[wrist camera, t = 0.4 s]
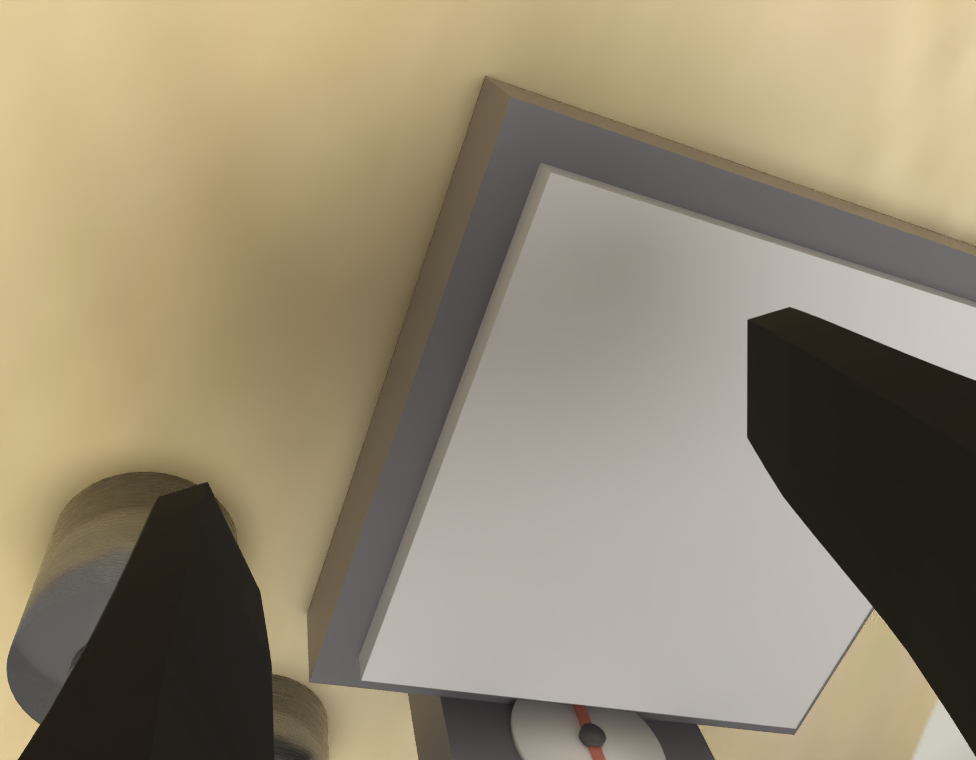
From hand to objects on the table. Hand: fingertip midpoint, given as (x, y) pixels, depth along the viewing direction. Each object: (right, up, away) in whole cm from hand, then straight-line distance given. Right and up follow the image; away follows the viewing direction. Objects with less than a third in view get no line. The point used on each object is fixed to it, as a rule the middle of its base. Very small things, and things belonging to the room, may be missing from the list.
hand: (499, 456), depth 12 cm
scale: (+4, -1, +13) cm, 13 cm away
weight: (-9, -3, +11) cm, 15 cm away
